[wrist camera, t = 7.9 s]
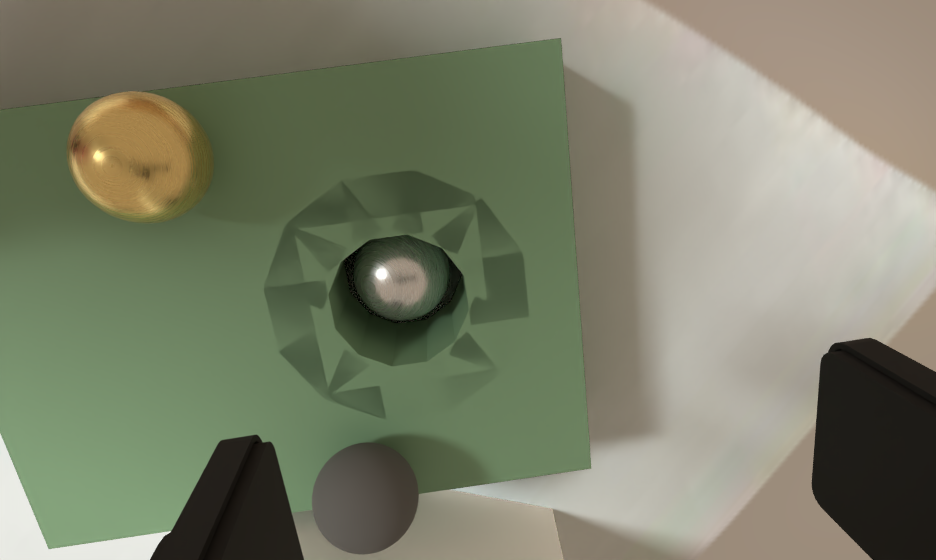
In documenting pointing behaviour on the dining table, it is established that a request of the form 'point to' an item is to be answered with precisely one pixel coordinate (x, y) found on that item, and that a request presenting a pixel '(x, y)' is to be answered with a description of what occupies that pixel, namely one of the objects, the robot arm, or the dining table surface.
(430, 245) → the steel ball
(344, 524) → the dark grey ball
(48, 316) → the board
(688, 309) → the dining table surface
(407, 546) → the milk
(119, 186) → the brass ball
